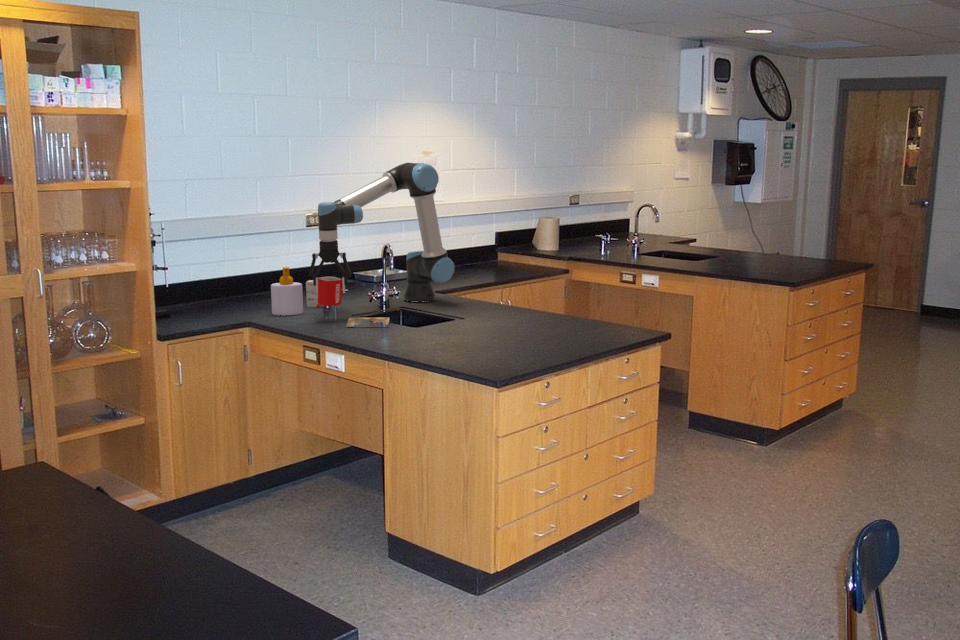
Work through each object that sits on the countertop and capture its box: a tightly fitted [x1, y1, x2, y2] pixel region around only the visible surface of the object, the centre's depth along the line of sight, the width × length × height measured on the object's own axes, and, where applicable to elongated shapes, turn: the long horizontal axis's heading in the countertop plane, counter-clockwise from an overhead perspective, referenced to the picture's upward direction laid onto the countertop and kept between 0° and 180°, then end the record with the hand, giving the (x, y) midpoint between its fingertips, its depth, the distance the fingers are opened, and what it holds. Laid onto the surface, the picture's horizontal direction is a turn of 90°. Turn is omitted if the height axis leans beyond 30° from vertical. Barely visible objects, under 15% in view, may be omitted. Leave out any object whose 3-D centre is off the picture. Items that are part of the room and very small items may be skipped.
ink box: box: [305, 279, 326, 308], centre depth 421 cm, size 9×5×12 cm, turn 84°
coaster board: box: [345, 316, 391, 328], centre depth 387 cm, size 17×17×1 cm
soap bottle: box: [270, 266, 304, 317], centre depth 403 cm, size 13×8×20 cm, turn 102°
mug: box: [318, 276, 343, 307], centre depth 391 cm, size 12×8×11 cm
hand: (330, 292), depth 391 cm, fingers closed on mug, 10 cm apart
